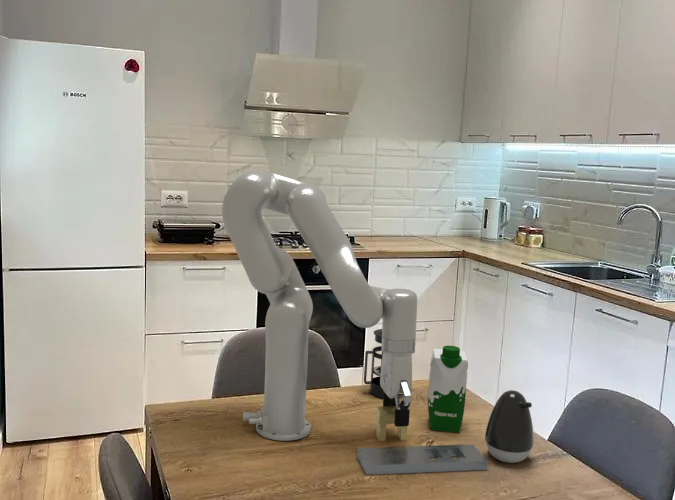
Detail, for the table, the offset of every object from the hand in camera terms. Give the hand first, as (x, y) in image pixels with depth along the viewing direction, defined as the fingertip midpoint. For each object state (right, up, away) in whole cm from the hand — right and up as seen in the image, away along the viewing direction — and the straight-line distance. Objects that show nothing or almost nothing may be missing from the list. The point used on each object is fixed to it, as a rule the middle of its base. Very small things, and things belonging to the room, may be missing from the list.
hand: (395, 417), depth 153 cm
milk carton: (+13, -5, +10) cm, 16 cm away
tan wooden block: (-1, -5, +1) cm, 5 cm away
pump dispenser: (+24, -7, -6) cm, 26 cm away
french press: (0, -1, +29) cm, 29 cm away
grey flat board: (+5, -7, -11) cm, 14 cm away
